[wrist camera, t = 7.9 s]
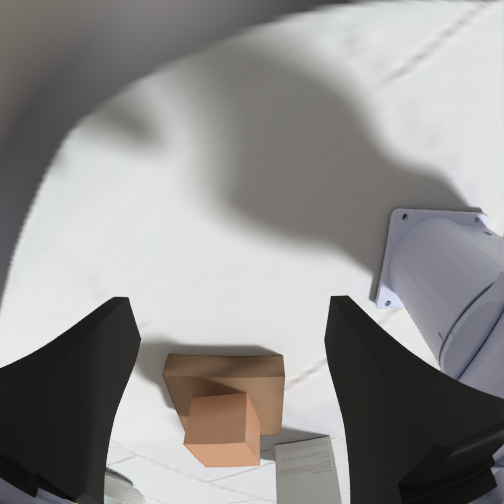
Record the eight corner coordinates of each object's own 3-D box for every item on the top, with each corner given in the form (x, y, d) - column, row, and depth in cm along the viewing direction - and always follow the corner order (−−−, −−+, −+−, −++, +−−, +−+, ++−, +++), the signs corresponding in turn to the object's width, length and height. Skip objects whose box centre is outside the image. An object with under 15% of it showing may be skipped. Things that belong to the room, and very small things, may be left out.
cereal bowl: (101, 459, 39) (92, 488, 33) (165, 491, 45) (160, 517, 39) (66, 460, 44) (58, 483, 38) (122, 490, 50) (116, 512, 43)
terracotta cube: (246, 392, 23) (245, 442, 19) (259, 420, 25) (260, 465, 21) (191, 397, 24) (183, 444, 19) (210, 425, 26) (205, 467, 21)
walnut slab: (282, 350, 25) (284, 376, 22) (279, 412, 29) (280, 434, 27) (169, 350, 25) (162, 374, 22) (189, 410, 30) (185, 432, 27)
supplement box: (282, 463, 35) (285, 537, 24) (273, 443, 32) (276, 531, 21) (333, 455, 34) (343, 529, 23) (332, 434, 31) (345, 522, 20)
